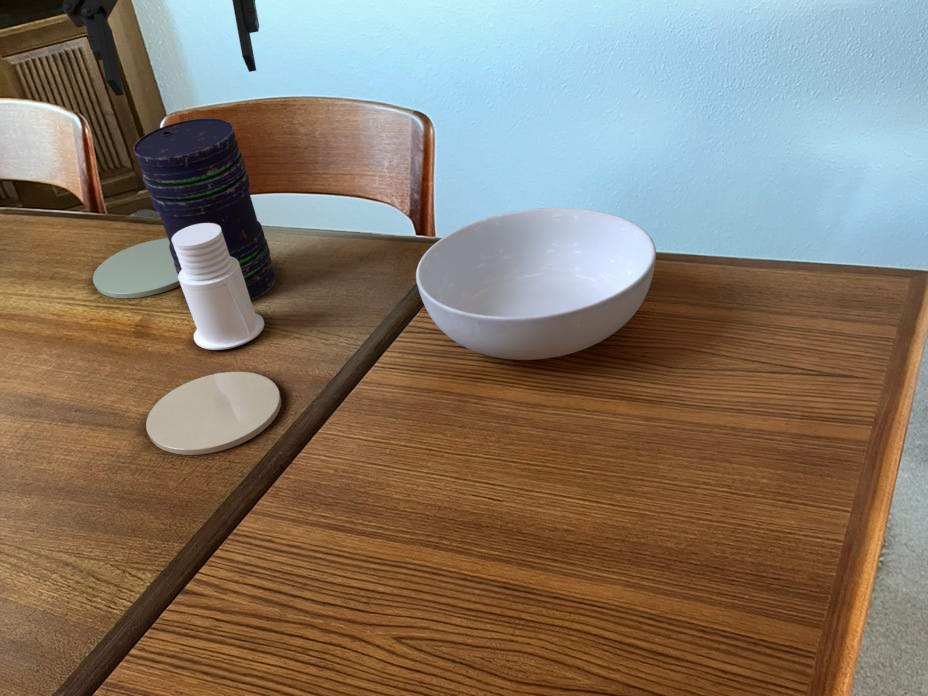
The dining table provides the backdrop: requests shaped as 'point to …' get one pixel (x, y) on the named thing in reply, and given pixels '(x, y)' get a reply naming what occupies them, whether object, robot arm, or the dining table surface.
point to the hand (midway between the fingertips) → (182, 76)
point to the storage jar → (206, 191)
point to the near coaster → (213, 413)
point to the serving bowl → (537, 281)
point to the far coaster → (138, 271)
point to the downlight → (214, 289)
